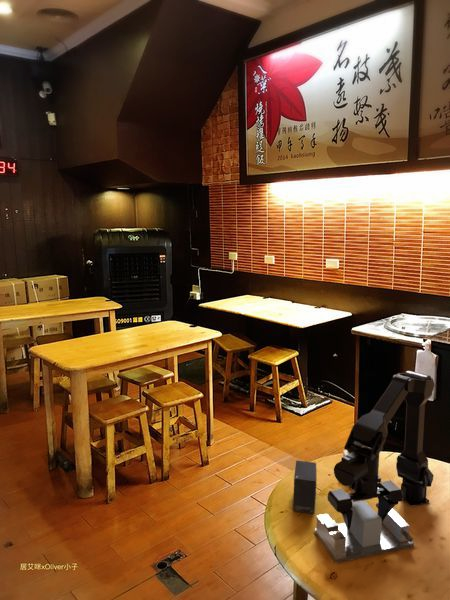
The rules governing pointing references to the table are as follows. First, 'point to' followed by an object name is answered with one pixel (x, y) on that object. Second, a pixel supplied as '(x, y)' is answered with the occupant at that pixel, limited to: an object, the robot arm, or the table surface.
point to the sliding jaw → (397, 526)
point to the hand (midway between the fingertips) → (363, 525)
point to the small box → (304, 487)
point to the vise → (353, 541)
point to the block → (365, 524)
